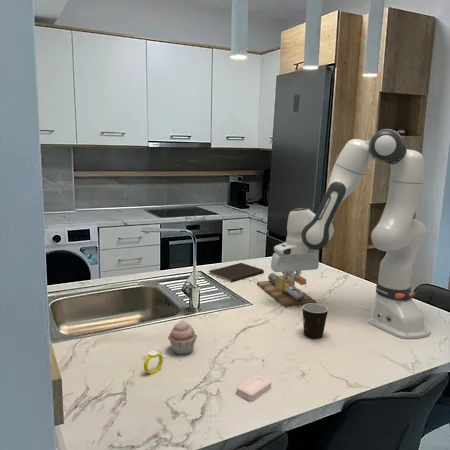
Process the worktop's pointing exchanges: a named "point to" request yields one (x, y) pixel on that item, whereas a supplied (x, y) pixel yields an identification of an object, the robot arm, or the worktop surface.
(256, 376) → the soap bar
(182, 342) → the cupcake
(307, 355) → the worktop surface
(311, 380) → the worktop surface
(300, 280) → the valve lever
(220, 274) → the hardcover book
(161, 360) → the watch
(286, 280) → the valve body
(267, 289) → the mount board
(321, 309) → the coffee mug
